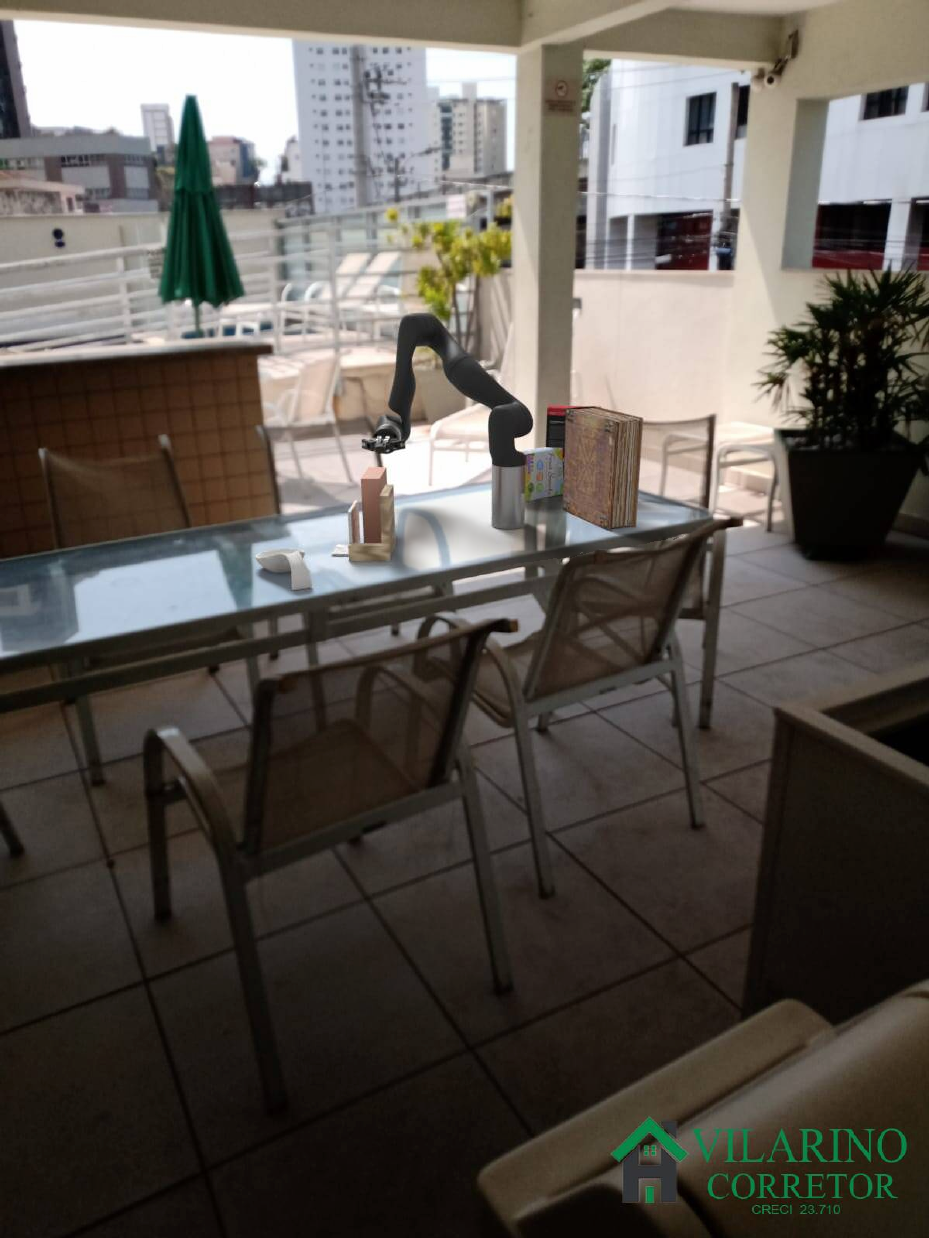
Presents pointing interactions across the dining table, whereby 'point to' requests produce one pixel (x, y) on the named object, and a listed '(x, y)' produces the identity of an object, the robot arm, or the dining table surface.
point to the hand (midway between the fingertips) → (379, 450)
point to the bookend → (350, 530)
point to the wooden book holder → (387, 533)
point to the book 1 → (372, 502)
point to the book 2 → (602, 466)
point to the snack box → (543, 473)
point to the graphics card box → (557, 427)
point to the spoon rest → (287, 565)
